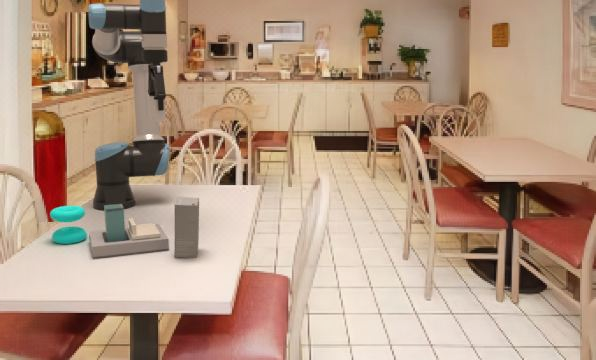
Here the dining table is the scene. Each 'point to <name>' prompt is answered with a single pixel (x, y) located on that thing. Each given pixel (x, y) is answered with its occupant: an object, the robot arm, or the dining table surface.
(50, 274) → the dining table surface
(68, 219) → the donuts
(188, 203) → the skincare box
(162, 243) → the socket plate
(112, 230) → the green rectangular box
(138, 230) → the shutter
